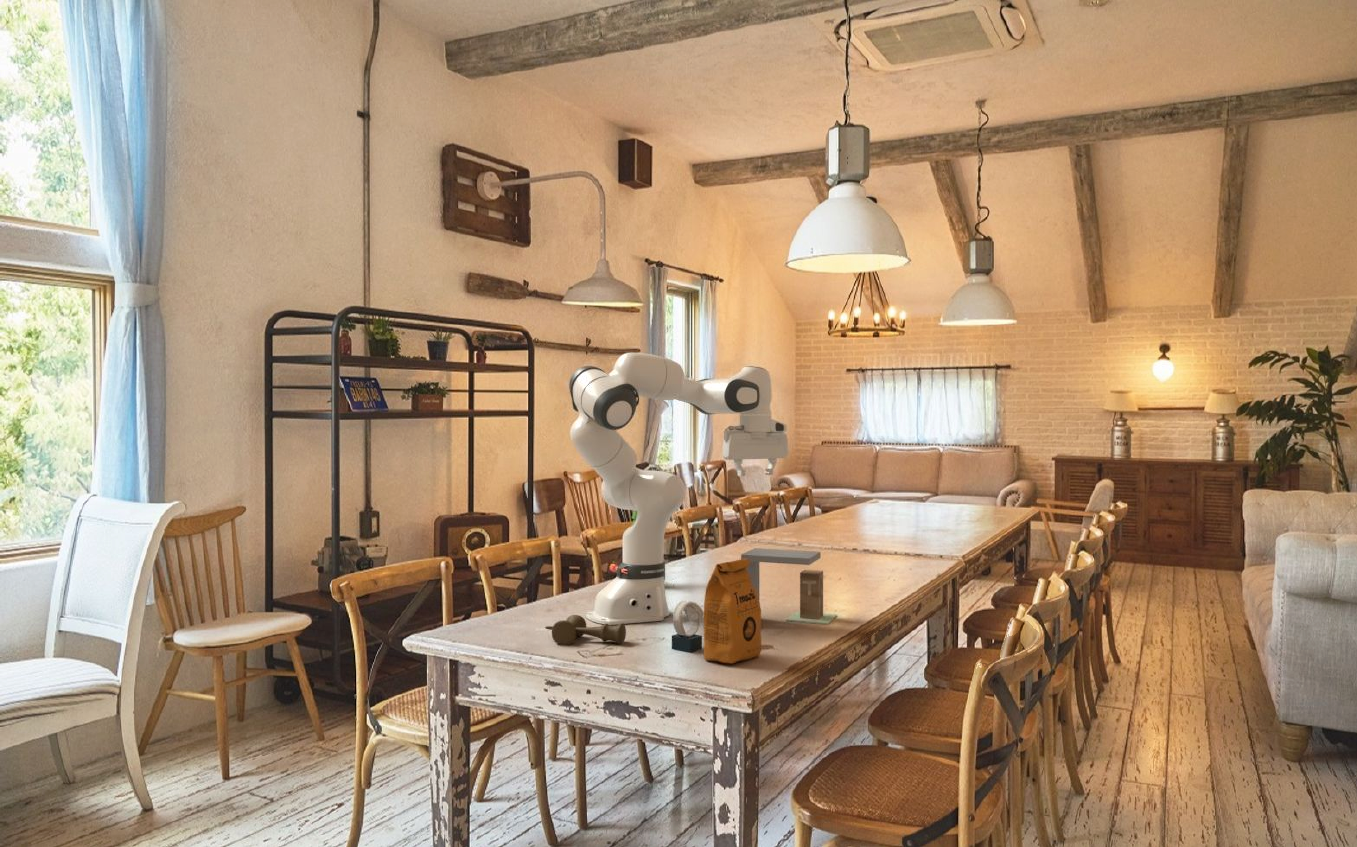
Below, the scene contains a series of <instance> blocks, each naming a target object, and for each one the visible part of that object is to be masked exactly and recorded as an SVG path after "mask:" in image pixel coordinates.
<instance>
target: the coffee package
mask: <svg viewBox="0 0 1357 847" xmlns="http://www.w3.org/2000/svg"><path fill="white" fill-rule="evenodd" d="M749 565H750V562H749V560H748V558H745V559H741V558H740V559H737V560H731V561H726V562H720V563H717V564H715V567H714V569H713V572H712V573H711V577H710V579H709V580H708V582H707V585H706V588H705V594H704V604H703V643H704V644H703V655H704V657H703V659H704V660H705V661H709V662H718V663H722V664H734V663H737V662H742V661H748V660H750V659H753V658H758V657H759V656H760V654H761V652H762V630H761V628H762V627H761V623H762V609H761V603H760V597H759V598H758V596H757V593H756V590H755V588H754V586H753V585H752V583H751V581H750V577H749V574H748V571H747V570H746V567H748V566H749Z"/></svg>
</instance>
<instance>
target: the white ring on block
mask: <svg viewBox="0 0 1357 847" xmlns="http://www.w3.org/2000/svg"><path fill="white" fill-rule="evenodd" d="M683 612H684V614H685V615H686V616H687V618H688V619H689V621H690V622H691V623H690V626H689V628H688V630H687V631H686V630H685V627H684V624H683V621H682V613H683ZM672 615H673V616H672V624H673V628H674V630H675V632H676V634H673V635H671V650H674V651H675V650H676V651H680V652H684V653H690V654H691V653H694V652H697V651H700V650H703V635H699V634H697V632H698V631H699V629H700V625H701V623H702V621H703V617H704V609H702V607H701V606H700V605H699V604H698V603H697V602H695V601H691V600H688V601H687V600H682V601H679V602H678V604H676V607H675V608H674V610H673V614H672Z"/></svg>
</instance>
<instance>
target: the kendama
mask: <svg viewBox="0 0 1357 847" xmlns="http://www.w3.org/2000/svg"><path fill="white" fill-rule="evenodd" d="M544 629H546V630H550V631H551V638H552V640H553V641H554V643H556V644H557V645H560V646H570V645H572V644H573V643H574V641H575V640H576V638H581V637H582V636H584V635H586V636H590V637H594V638H597V639H600V640H602V642H603V643H605V642H608V641H611V642H614V643H616V644H618V645H620V646H621V645H622V644H624V643H625V639H626V635H627V628H626V624H624V623H621V624H616V625H609V624H602V625H600V626H587V622H586V620H585V618H584V617H582V615H578V614H571V615H570V616H568V617H567V619H566V620H558V621H555V623H554V624H553V626H552V625H550V626H549V625H546V626H545V627H544Z"/></svg>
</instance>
